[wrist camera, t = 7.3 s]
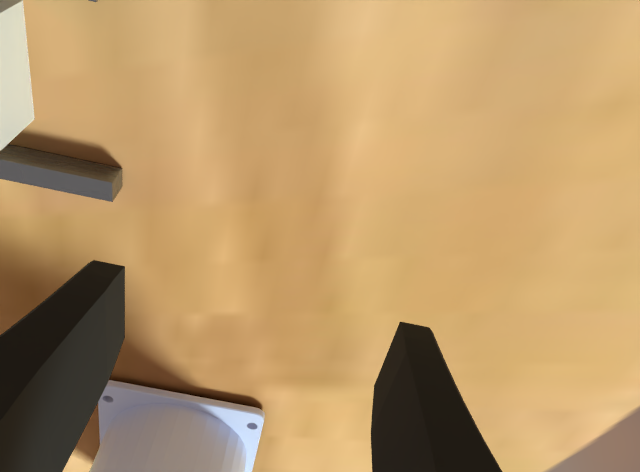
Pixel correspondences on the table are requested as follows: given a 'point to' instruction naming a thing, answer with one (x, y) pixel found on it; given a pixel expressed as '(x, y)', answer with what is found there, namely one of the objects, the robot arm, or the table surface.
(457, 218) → the table surface
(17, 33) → the block
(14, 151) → the rail
